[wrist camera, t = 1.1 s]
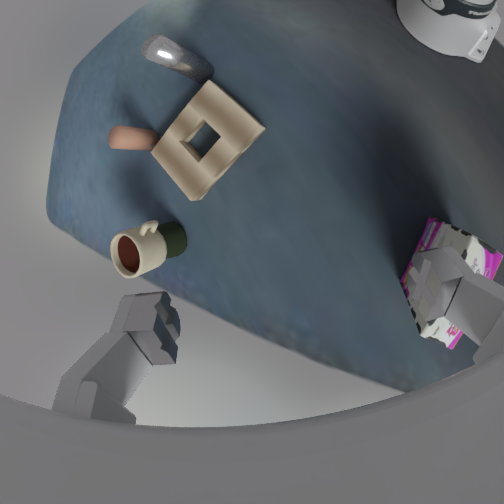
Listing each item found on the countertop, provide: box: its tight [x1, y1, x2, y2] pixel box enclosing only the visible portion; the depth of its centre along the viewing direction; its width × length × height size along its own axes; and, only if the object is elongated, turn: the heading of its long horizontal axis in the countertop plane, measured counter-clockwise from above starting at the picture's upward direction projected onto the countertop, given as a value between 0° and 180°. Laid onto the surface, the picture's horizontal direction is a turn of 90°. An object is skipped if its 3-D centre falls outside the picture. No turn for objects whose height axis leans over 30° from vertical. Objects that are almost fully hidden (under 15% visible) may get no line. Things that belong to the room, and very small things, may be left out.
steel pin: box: [141, 34, 214, 83], centre depth 34 cm, size 4×4×14 cm
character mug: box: [110, 220, 187, 278], centre depth 44 cm, size 11×7×13 cm, turn 148°
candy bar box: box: [400, 216, 503, 349], centre depth 28 cm, size 11×5×16 cm, turn 162°
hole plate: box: [151, 80, 266, 201], centre depth 42 cm, size 16×12×3 cm
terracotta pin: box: [108, 125, 158, 151], centre depth 43 cm, size 4×4×9 cm
